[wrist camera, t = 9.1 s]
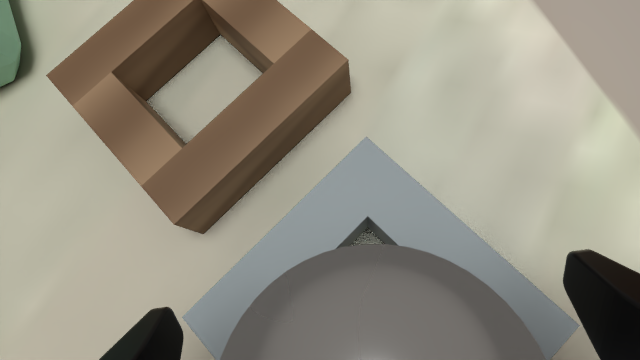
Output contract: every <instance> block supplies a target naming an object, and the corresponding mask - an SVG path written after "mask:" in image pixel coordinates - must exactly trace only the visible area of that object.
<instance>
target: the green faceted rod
mask: <svg viewBox="0 0 640 360" xmlns="http://www.w3.org/2000/svg"><path fill="white" fill-rule="evenodd" d="M20 53H21V42H20V38H19V35H18V32H17V28H16V25H15V21H14V18H13V14H12V11H11V7H10V4H9V0H0V87H1V86H3V85H5V84H7V83H9V82H12V81H14V79H15V77H16V74H17V71H18V67H19V64H20Z"/></svg>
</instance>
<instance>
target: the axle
mask: <svg viewBox="0 0 640 360" xmlns="http://www.w3.org/2000/svg"><path fill="white" fill-rule="evenodd" d="M220 360H546V358H545V356H544V354H543V352H542V350H541V348H540V347H539V345H538V343H537V341H536V340H535V338H534V337H533V335H532V334H531V332H530V331H529V329H528V328H527V327H526V325H525V324H524V322H523V321H522V320H521V318H520V317H519V316H518V315H517V314H516V313H515V312H514V310H513V309H512V308H511V307H510V306H509V305H508V303H507V302H506V301H505V300H504V299H502V298H501V297H500V296H499V295H498V294H497V293H496V292H495V291H494V290H493V289H491V288H490V287H489V286H488V285H487V284H485V283H484V282H483V281H481V280H480V279H478V278H477V277H476V276H474V275H473V274H471V273H470V272H469V271H467V270H465V269H463V268H461V267H460V266H458V265H456V264H454V263H452V262H450V261H449V260H446V259H444V258H441V257H439V256H436V255H434V254H431V253H429V252H425V251H421V250H417V249H413V248H410V247H405V246H397V245H389V244H361V245H354V246H346V247H341V248H338V249H334V250H330V251H327V252H323V253H321V254H319V255H316V256H314V257H311V258H309V259H307V260H304V261H303V262H301V263H299V264H298V265H296V266H294V267H292V268H291V269H289V270H287V271H286V272H285V273H283V274H282V275H281V276H279V277H278V278H277V279H276V280H274V281H273V282H272V283H270V284H269V285H268V286H267V287H266V288H265V289H264V290H263V291H262V292H261V293H260V294H259V295H258V296H257V297H256V298H255V300H254V301H253V302H252V303H251V305H250V306H249V307H248V309H247V310H246V311H245V313H244V314H243V315H242V316H241V318H240V320H239V322H238V323H237V325H236V327H235V328H234V330H233V332H232V333H231V335H230V337H229V339H228V342H227V344H226V346H225V348H224V351H223V353H222V355H221V358H220Z"/></svg>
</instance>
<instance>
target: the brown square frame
mask: <svg viewBox="0 0 640 360" xmlns="http://www.w3.org/2000/svg"><path fill="white" fill-rule="evenodd" d="M220 34H221V35H222V36H223V37H224V38H225V39H226V40H227V41H228V42H230V43H231V44H232V45H233V46H234V47H235V48H236V49H237V50H238V51H239V52H240V53H242V54H243V55H244V56H245V57H246V58H247V59H248V60H249V61H250V62H251V63H252V64H254V65H255V66H256V67H257V68H258V69H259V70H260V71H261V72H262V73H263V74H262V75H261V76H260V77H259V78H258V79H257V80H256V81H255V82H253V83H252V84H251V85H250V86H249V87H248V88H247V89H246V90H245V91H244V92H243V93H241V94H240V95H239V96H238V97H237V98H236V99H235V100H234V101H233V102H232V103H231V104H230V105H228V106H227V107H226V108H225V109H224V110H223V111H222V112H221V113H220V114H219V115H218V116H217V117H215V118H214V119H213V120H212V121H211V122H210V123H209V124H208V125H207V126H206V127H205V128H204V129H202V130H201V131H200V132H199V133H198V134H197V135H196V136H195V137H194V138H193V139H192V140H191V141H189V142H188V143H187V144H185V142H184V141H183V140H182V139H181V138H180V137H179V136H178V135H177V134H176V133H175V132H174V131H173V130H172V129H171V128H170V126H169V125H168V124H167V123H166V122H165V121H164V120H163V119H162V118H161V117H160V116H159V115H158V114H157V113H156V112H155V111H154V109H153V108H152V107H151V106H150V105H149V104H148V103H147V102H146V100H148V99H149V98H150V97H151V96H152V95H153V94H154V93H155V92H156V91H158V90H159V89H160V88H161V87H162V86H163V85H164V84H165V83H166V82H168V81H169V80H170V79H171V78H172V77H173V76H174V75H175V74H177V73H178V72H179V71H180V70H181V69H182V68H183V67H184V66H185V65H187V64H188V63H189V62H190V61H191V60H192V59H193V58H194V57H196V56H197V55H198V54H199V53H200V52H201V51H202V50H203V49H204V48H206V47H207V46H208V45H209V44H210V43H211V42H212V41H213V40H215V39H216V38H217V37H218V36H219V35H220ZM46 76H47V77H48V78H49V79H50V80H51V82H52V83H53V84H54V85H55V86H56V87H57V89H58V90H59V91H60V92H61V93H62V94H63V96H64V97H65V98H66V99H67V100H68V101H69V103H70V104H71V105H72V106H73V107H74V108H75V110H76V111H77V112H78V113H79V114H80V115H81V117H82V118H83V119H84V120H85V121H86V122H87V124H88V125H89V126H90V127H91V128H92V129H93V131H94V132H95V133H96V134H97V135H98V136H99V138H100V139H101V140H102V141H103V142H104V143H105V145H106V146H107V147H108V148H109V149H110V150H111V152H112V153H113V154H114V155H115V156H116V157H117V159H118V160H119V161H120V162H121V163H122V164H123V166H124V167H125V168H126V169H127V170H128V171H129V173H130V174H131V175H132V176H133V177H134V178H135V180H136V181H137V182H138V183H139V184H140V185H141V187H142V188H143V189H144V190H145V191H146V192H147V194H148V195H149V196H150V197H151V198H152V199H153V201H154V202H155V203H156V204H157V205H158V206H159V208H160V209H161V210H162V211H163V212H164V213H165V215H166V216H167V217H168V218H169V219H170V220H171V222H172V223H173V224H174V225H177V226H180V227H183V228H186V229H189V230H192V231H195V232H199V233H202V234H204V233H205V232H206V231H207V230H208V229H209V228H210V227H211V226H212V225H213V224H214V223H215V222H216V221H217V220H218V219H219V218H220V217H221V216H223V215H224V214H225V213H226V212H227V211H228V210H229V209H230V208H231V207H232V206H233V205H234V204H235V203H236V202H237V201H238V200H239V199H240V198H241V197H242V196H243V195H244V194H245V193H246V192H248V191H249V190H250V189H251V188H252V187H253V186H254V185H255V184H256V183H257V182H258V181H259V180H260V179H261V178H262V177H263V176H264V175H265V174H266V173H267V172H268V171H269V170H270V169H272V168H273V167H274V166H275V165H276V164H277V163H278V162H279V161H280V160H281V159H282V158H283V157H284V156H285V155H286V154H287V153H288V152H289V151H290V150H291V149H292V148H293V147H294V146H295V145H297V144H298V143H299V142H300V141H301V140H302V139H303V138H304V137H305V136H306V135H307V134H308V133H309V132H310V131H311V130H312V129H313V128H314V127H315V126H316V125H317V124H318V123H319V122H321V121H322V120H323V119H324V118H325V117H326V116H327V115H328V114H329V113H330V112H331V111H332V110H333V109H334V108H335V107H336V106H337V105H338V104H339V103H340V102H341V101H342V100H343V99H345V98H346V97H347V96H348V95H349V94H350V93H351V87H350V75H349V64H348V59H347V58H345V57H344V56H343V55H342V54H341V53H339V52H338V51H337V50H336V49H335V48H333V47H332V46H331V45H330V44H329V43H327V42H326V41H325V40H324V39H323V38H321V37H320V36H319V35H318V34H317V33H315V32H314V31H313V30H312V29H311V28H309V27H308V26H307V25H306V24H305V23H303V22H302V21H301V20H300V19H299V18H297V17H296V16H295V15H294V14H292V13H291V12H290V11H289V10H288V9H286V8H285V7H284V6H283V5H282V4H280V3H279V2H278V1H277V0H134V1H132V2H131V3H130V4H129V5H128V6H127V7H125V8H124V9H123V10H122V11H121V12H120V13H118V14H117V15H116V16H115V17H114V18H113V19H111V20H110V21H109V22H108V23H107V24H106V25H104V26H103V27H102V28H101V29H100V30H99V31H97V32H96V33H95V34H94V35H93V36H92V37H90V38H89V39H88V40H87V41H86V42H85V43H83V44H82V45H81V46H80V47H79V48H78V49H76V50H75V51H74V52H73V53H72V54H71V55H69V56H68V57H67V58H66V59H65V60H64V61H62V62H61V63H60V64H59V65H58V66H57V67H55V68H54V69H53V70H52V71H51V72H50V73H48V74H47V75H46Z"/></svg>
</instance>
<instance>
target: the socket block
mask: <svg viewBox="0 0 640 360" xmlns="http://www.w3.org/2000/svg"><path fill="white" fill-rule="evenodd" d="M367 228H369V229H370V230H371V231H372V232H373V233H374V234H375V235H376V236H377V237H378V238H379V239H380V240H381V241H382V242H384V243H385V244H389V245H397V246H405V247H410V248H413V249H417V250H421V251H425V252H429V253H431V254H434V255H436V256H439V257H441V258H444V259H446V260H449V261H450V262H452V263H454V264H456V265H458V266H460V267H461V268H463V269H465V270H467V271H469V272H470V273H471V274H473V275H474V276H476V277H477V278H478V279H480V280H481V281H483V282H484V283H485V284H487V285H488V286H489V287H490V288H491V289H493V290H494V291H495V292H496V293H497V294H498V295H499V296H500V297H501V298H502V299H504V300H505V301H506V302H507V303H508V305H509V306H510V307H511V308H512V309H513V310H514V312H515V313H516V314H517V315H518V316H519V317H520V318H521V320H522V321H523V322H524V324H525V325H526V327H527V328H528V329H529V331H530V332H531V334H532V335H533V337H534V338H535V340H536V341H537V343H538V345H539V347H540V348H541V350H542V352H543V354H544V356H545V358H546V360H550V359H551V358H552V357H553V355H554V354H555V353H556V352H557V351H558V350H559V349H560V348H561V346H562V345H563V344H564V343H565V342H566V341H567V340H568V338H569V337H570V336H571V335H572V334H573V333H574V332H575V330H576V329H577V328H578V327H579V326H580V325H578V324H577V323H576V322H575V321H574V320H573V319H572V318H571V317H569V316H568V315H567V314H566V313H565V312H564V311H563V310H562V309H560V308H559V307H558V306H557V305H556V304H555V303H554V302H553V301H551V300H550V299H549V298H548V297H547V296H546V295H545V294H543V293H542V292H541V291H540V290H539V289H538V288H537V287H536V286H534V285H533V284H532V283H531V282H530V281H529V280H528V279H527V278H525V277H524V276H523V275H522V274H521V273H520V272H519V271H518V270H516V269H515V268H514V267H513V266H512V265H511V264H510V263H508V262H507V261H506V260H505V259H504V258H503V257H502V256H501V255H499V254H498V253H497V252H496V251H495V250H494V249H493V248H492V247H490V246H489V245H488V244H487V243H486V242H485V241H484V240H483V239H481V238H480V237H479V236H478V235H477V234H476V233H475V232H473V231H472V230H471V229H470V228H469V227H468V226H467V225H466V224H464V223H463V222H462V221H461V220H460V219H459V218H458V217H457V216H455V215H454V214H453V213H452V212H451V211H450V210H449V209H448V208H446V207H445V206H444V205H443V204H442V203H441V202H440V201H439V200H437V199H436V198H435V197H434V196H433V195H432V194H431V193H429V192H428V191H427V190H426V189H425V188H424V187H423V186H422V185H420V184H419V183H418V182H417V181H416V180H415V179H414V178H413V177H411V176H410V175H409V174H408V173H407V172H406V171H405V170H404V169H402V168H401V167H400V166H399V165H398V164H397V163H396V162H394V161H393V160H392V159H391V158H390V157H389V156H388V155H387V154H385V153H384V152H383V151H382V150H381V149H380V148H379V147H378V146H376V145H375V144H374V143H373V142H372V141H371V140H370V139H369V138H367V137H365V138H364V139H363V140H362V141H361V142H360V143H359V144H358V145H357V146H356V147H355V148H354V149H353V150H352V151H351V152H350V153H349V154H348V155H347V156H346V157H345V158H344V159H343V160H342V161H341V162H340V163H339V164H338V165H337V166H336V167H335V168H334V169H333V170H332V171H331V172H330V173H329V174H328V175H327V176H325V177H324V178H323V179H322V180H321V181H320V182H319V183H318V184H317V185H316V186H315V187H314V188H313V189H312V190H311V191H310V192H309V193H308V194H307V195H306V196H305V197H304V198H303V199H302V200H301V201H300V202H299V203H298V204H297V205H296V206H295V207H294V208H293V209H292V210H291V211H290V212H289V213H288V214H287V215H286V216H285V217H284V218H283V219H282V220H281V221H280V222H279V223H278V224H277V225H276V226H275V227H273V228H272V229H271V230H270V231H269V232H268V233H267V234H266V235H265V236H264V237H263V238H262V239H261V240H260V241H259V242H258V243H257V244H256V245H255V246H254V247H253V248H252V249H251V250H250V251H249V252H248V253H247V254H246V255H245V256H244V257H243V258H242V259H241V260H240V261H239V262H238V263H237V264H236V265H235V266H234V267H233V268H232V269H231V270H230V271H229V272H228V273H227V274H226V275H225V276H224V277H223V278H221V279H220V280H219V281H218V282H217V283H216V284H215V285H214V286H213V287H212V288H211V289H210V290H209V291H208V292H207V293H206V294H205V295H204V296H203V297H202V298H201V299H200V300H199V301H198V302H197V303H196V304H195V305H194V306H193V307H192V308H191V309H190V310H189V311H188V312H187V313H186V314H185V315H184V316H183V317H182V318H183V319H184V320H185V322H186V323H187V324H188V325H189V327H190V328H191V329H192V330H193V332H194V333H195V334H196V335H197V337H198V338H199V339H200V340H201V342H202V343H203V344H204V345H205V347H206V348H207V349H208V351H209V352H210V353H211V354H212V356H213V357H214V358H215V359H216V360H220V358H221V355H222V353H223V351H224V348H225V346H226V344H227V342H228V339H229V337H230V335H231V333H232V332H233V330H234V328H235V327H236V325H237V323H238V322H239V320H240V318H241V316H242V315H243V314H244V313H245V311H246V310H247V309H248V307H249V306H250V305H251V303H252V302H253V301H254V300H255V298H256V297H257V296H258V295H259V294H260V293H261V292H262V291H263V290H264V289H265V288H266V287H267V286H268V285H269V284H270V283H272V282H273V281H274V280H276V279H277V278H278V277H279V276H281V275H282V274H283V273H285V272H286V271H287V270H289V269H291V268H292V267H294V266H296V265H298V264H299V263H301V262H303V261H304V260H307V259H309V258H311V257H314V256H316V255H319V254H321V253H323V252H327V251H330V250H334V249H338V248H341V247H346V246H350V245H351V244H352V243H353V242H354V241H355V240H356V239H357V238H358V237H359V236H360V235H361V234H362V233H363V232H364V231H365V230H366V229H367Z"/></svg>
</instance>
